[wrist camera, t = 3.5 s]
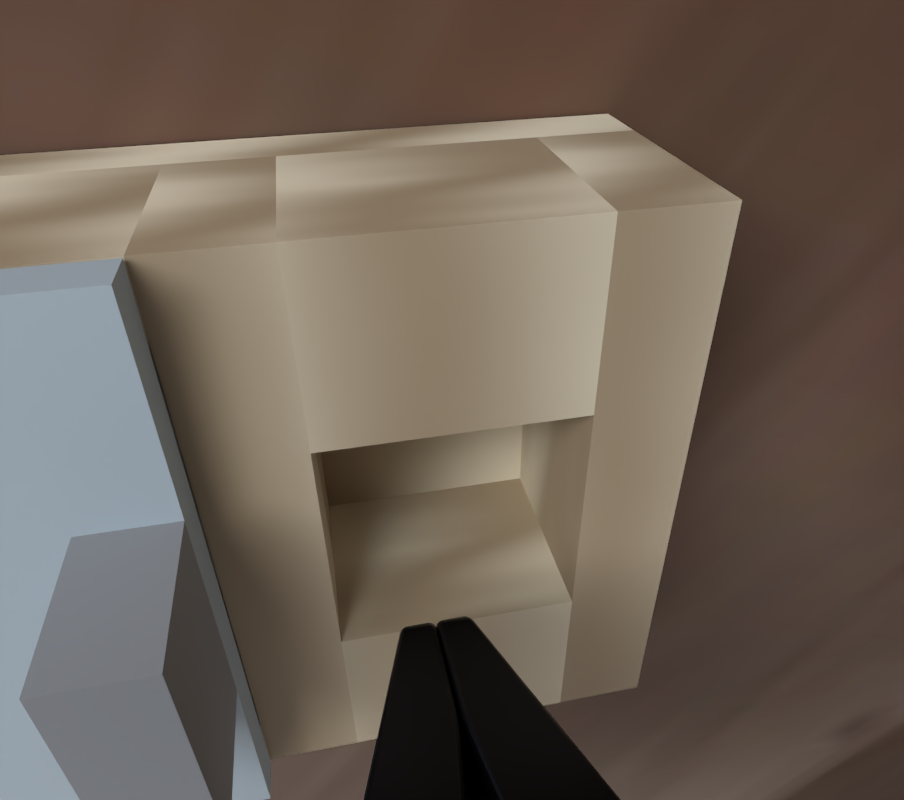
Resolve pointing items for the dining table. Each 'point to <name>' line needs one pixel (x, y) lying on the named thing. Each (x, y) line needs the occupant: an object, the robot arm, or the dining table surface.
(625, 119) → the dining table surface
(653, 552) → the wooden compartment tray
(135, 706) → the lid
